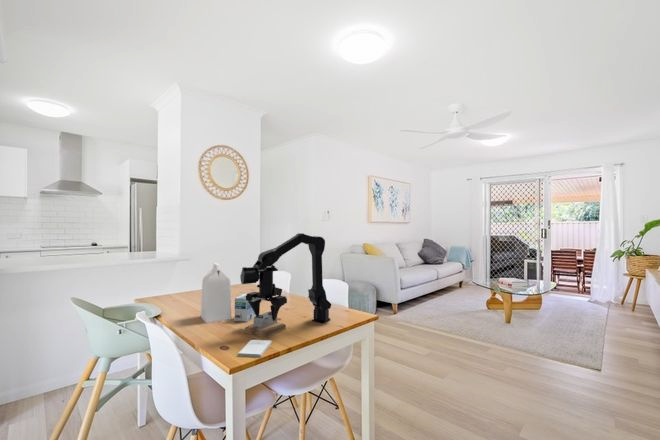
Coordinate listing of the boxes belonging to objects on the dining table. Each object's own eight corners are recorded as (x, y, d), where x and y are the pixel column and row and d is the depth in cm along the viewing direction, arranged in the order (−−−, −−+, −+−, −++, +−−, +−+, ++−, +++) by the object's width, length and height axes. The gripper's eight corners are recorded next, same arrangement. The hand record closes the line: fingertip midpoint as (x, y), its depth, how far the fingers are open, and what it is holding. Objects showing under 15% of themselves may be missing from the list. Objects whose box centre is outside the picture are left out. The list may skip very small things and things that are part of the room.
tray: (285, 329, 127) (285, 323, 128) (266, 337, 117) (266, 331, 117) (264, 324, 134) (264, 318, 134) (244, 332, 123) (244, 326, 123)
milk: (231, 318, 141) (232, 264, 142) (206, 323, 135) (206, 266, 135) (224, 312, 151) (225, 261, 152) (200, 316, 145) (201, 263, 145)
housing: (262, 328, 120) (262, 317, 120) (253, 326, 123) (253, 315, 123) (277, 322, 128) (277, 312, 128) (268, 320, 131) (268, 310, 131)
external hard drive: (237, 357, 101) (250, 343, 113) (260, 359, 100) (271, 344, 112) (237, 353, 101) (250, 339, 113) (260, 354, 100) (271, 340, 112)
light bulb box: (247, 322, 136) (247, 298, 137) (233, 321, 138) (234, 298, 138) (257, 315, 147) (257, 293, 147) (244, 314, 148) (245, 293, 149)
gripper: (295, 281, 128) (294, 317, 128) (263, 277, 138) (262, 310, 137) (278, 285, 118) (277, 324, 118) (245, 281, 128) (244, 317, 128)
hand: (265, 318), depth 126 cm, fingers open, 9 cm apart
